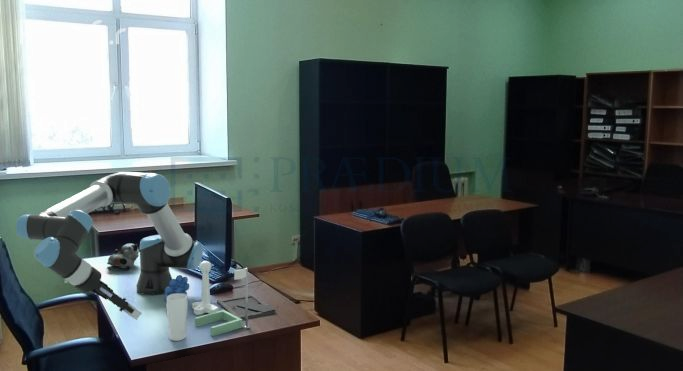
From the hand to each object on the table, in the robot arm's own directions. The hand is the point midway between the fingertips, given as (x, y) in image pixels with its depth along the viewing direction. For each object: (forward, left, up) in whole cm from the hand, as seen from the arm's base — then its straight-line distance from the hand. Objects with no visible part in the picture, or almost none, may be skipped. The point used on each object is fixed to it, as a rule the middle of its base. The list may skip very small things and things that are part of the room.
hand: (138, 315), depth 188 cm
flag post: (+7, +35, -12) cm, 38 cm away
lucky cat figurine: (-92, +33, -12) cm, 98 cm away
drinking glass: (0, +14, -12) cm, 18 cm away
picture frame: (-10, +48, -13) cm, 50 cm away
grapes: (-30, +29, -12) cm, 43 cm away
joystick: (-16, +33, -12) cm, 39 cm away
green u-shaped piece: (0, +30, -12) cm, 32 cm away
